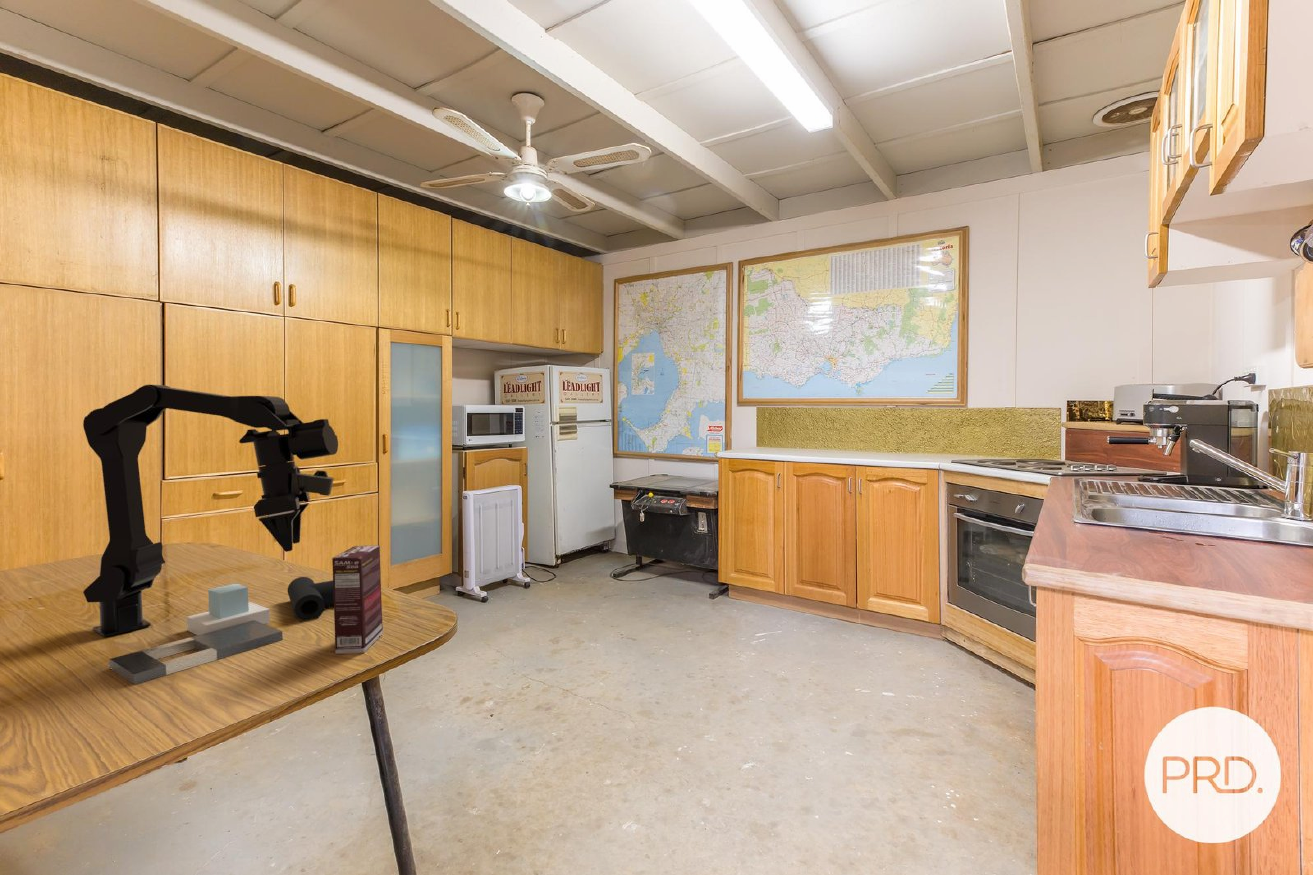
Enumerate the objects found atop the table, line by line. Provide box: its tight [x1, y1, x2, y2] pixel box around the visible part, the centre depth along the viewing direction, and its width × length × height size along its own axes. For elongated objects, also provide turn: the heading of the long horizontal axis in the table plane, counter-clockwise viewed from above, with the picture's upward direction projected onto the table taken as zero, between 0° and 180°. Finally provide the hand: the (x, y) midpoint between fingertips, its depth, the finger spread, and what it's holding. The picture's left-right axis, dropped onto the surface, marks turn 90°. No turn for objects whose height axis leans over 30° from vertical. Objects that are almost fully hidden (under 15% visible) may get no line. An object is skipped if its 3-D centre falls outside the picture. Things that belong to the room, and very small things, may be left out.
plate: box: [109, 620, 284, 685], centre depth 97 cm, size 10×20×2 cm, turn 147°
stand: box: [186, 601, 271, 636], centre depth 109 cm, size 8×10×2 cm
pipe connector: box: [287, 576, 334, 622], centre depth 121 cm, size 12×5×15 cm
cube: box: [208, 583, 249, 619], centre depth 109 cm, size 4×4×4 cm
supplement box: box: [331, 544, 384, 655], centre depth 100 cm, size 9×5×16 cm, turn 5°
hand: (292, 546), depth 111 cm, fingers open, 9 cm apart
